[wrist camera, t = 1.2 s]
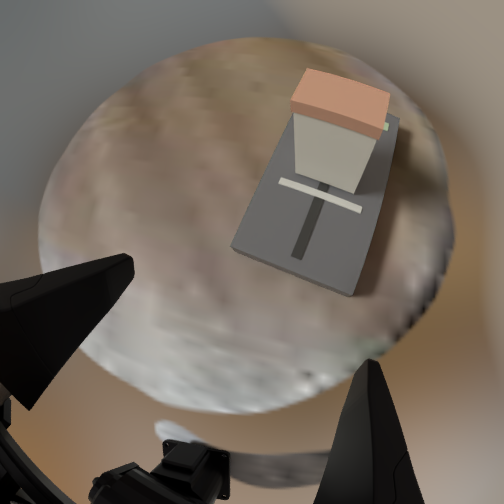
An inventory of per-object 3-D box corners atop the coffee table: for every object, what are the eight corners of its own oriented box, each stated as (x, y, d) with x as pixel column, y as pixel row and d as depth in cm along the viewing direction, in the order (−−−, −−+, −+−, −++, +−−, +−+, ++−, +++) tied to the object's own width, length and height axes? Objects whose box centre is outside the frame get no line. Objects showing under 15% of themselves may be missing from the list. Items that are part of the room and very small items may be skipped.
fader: (354, 195, 20) (383, 129, 12) (293, 173, 21) (290, 100, 13) (363, 164, 21) (390, 93, 12) (306, 143, 22) (307, 68, 14)
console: (347, 296, 21) (352, 295, 19) (235, 251, 23) (229, 245, 21) (394, 129, 23) (400, 117, 21) (305, 99, 26) (305, 86, 24)
